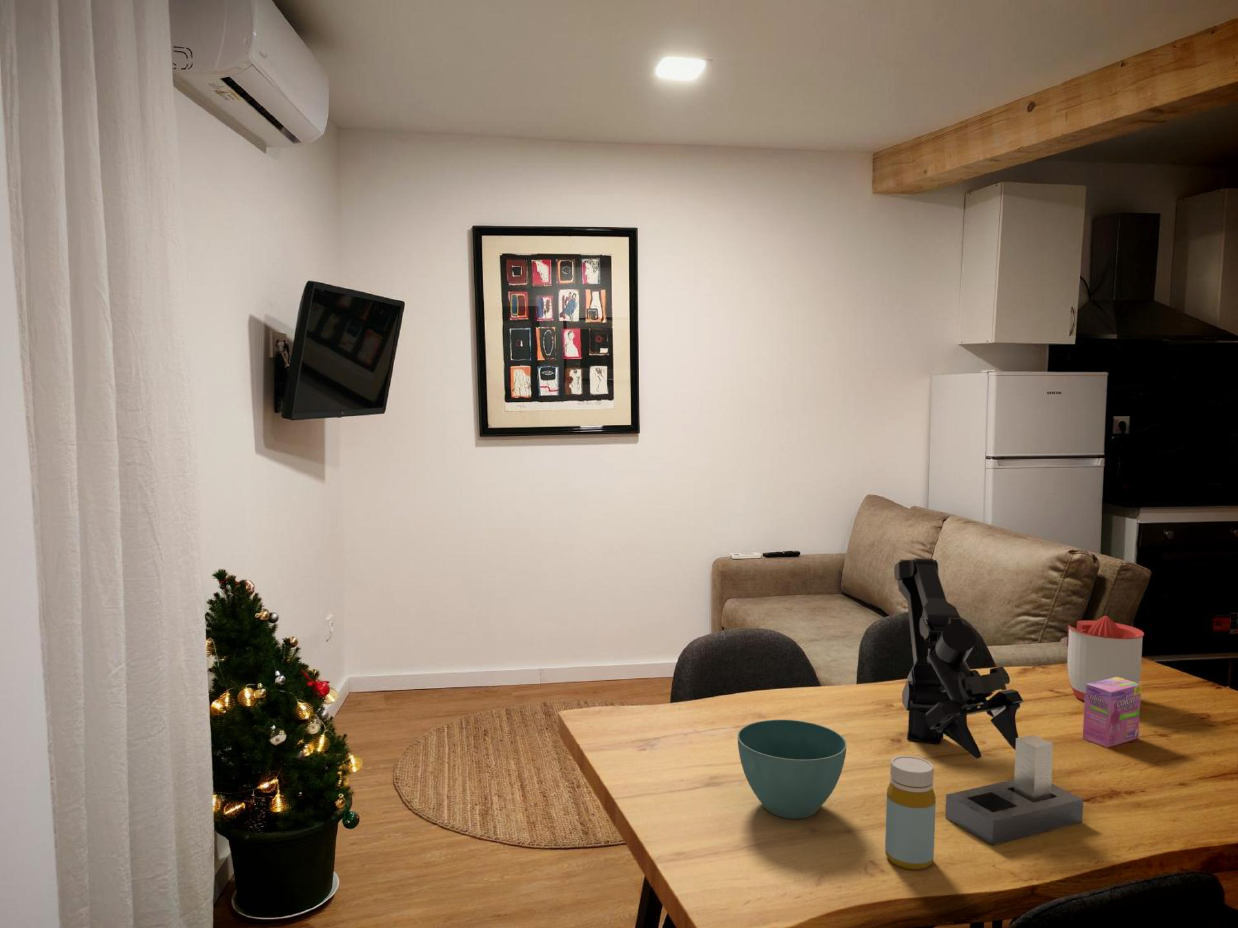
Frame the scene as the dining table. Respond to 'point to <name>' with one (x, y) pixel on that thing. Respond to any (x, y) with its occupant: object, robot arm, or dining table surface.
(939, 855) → the dining table surface
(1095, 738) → the box
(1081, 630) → the citrus juicer
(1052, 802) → the grey flat block
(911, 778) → the bottle
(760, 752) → the teal bowl
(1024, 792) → the peg
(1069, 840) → the dining table surface
